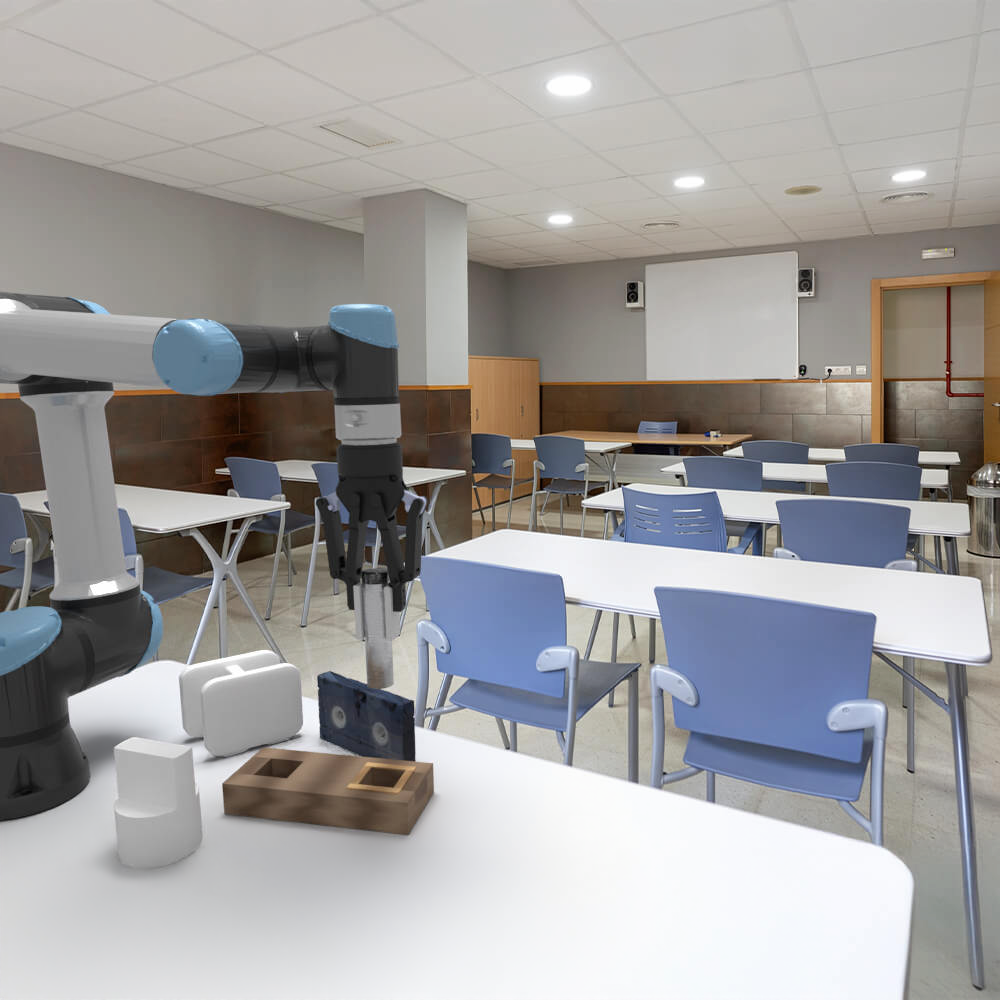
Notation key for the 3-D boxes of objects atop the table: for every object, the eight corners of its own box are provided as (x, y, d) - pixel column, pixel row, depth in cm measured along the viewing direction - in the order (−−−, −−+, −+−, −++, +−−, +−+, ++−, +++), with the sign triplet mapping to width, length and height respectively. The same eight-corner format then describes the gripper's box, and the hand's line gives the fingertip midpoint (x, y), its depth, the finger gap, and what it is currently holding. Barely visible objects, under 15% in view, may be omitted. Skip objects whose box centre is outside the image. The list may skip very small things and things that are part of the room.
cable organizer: (202, 765, 113) (196, 686, 111) (182, 739, 121) (176, 665, 120) (304, 737, 121) (300, 663, 120) (279, 714, 130) (275, 644, 128)
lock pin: (363, 688, 97) (357, 574, 95) (373, 678, 100) (367, 567, 98) (388, 689, 96) (383, 575, 94) (397, 679, 99) (392, 568, 97)
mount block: (224, 813, 100) (222, 781, 100) (264, 775, 110) (262, 745, 109) (408, 834, 95) (407, 801, 94) (434, 792, 104) (433, 761, 104)
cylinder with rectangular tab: (100, 859, 91) (90, 759, 89) (159, 818, 99) (151, 726, 98) (164, 875, 88) (155, 771, 86) (219, 831, 96) (212, 736, 94)
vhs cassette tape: (417, 768, 111) (415, 699, 110) (401, 777, 109) (398, 706, 107) (335, 732, 123) (331, 669, 122) (318, 738, 121) (315, 675, 119)
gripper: (289, 444, 92) (302, 643, 95) (425, 443, 88) (433, 650, 92) (318, 439, 99) (329, 624, 103) (445, 438, 96) (451, 630, 99)
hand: (378, 636), depth 97 cm, fingers closed on lock pin, 3 cm apart
